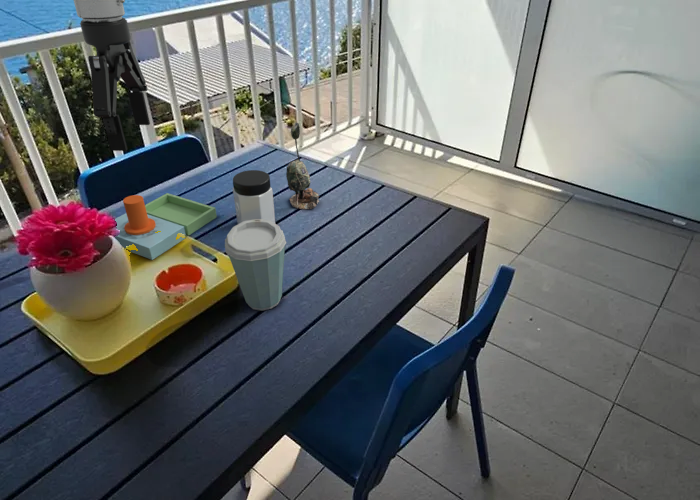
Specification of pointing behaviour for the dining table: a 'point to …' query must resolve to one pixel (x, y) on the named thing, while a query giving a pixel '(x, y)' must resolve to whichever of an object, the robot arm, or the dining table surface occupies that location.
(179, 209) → the tray
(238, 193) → the jar
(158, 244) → the plate
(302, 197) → the plant with pod
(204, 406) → the dining table surface
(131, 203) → the plug
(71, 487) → the dining table surface
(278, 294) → the disposable coffee cup
